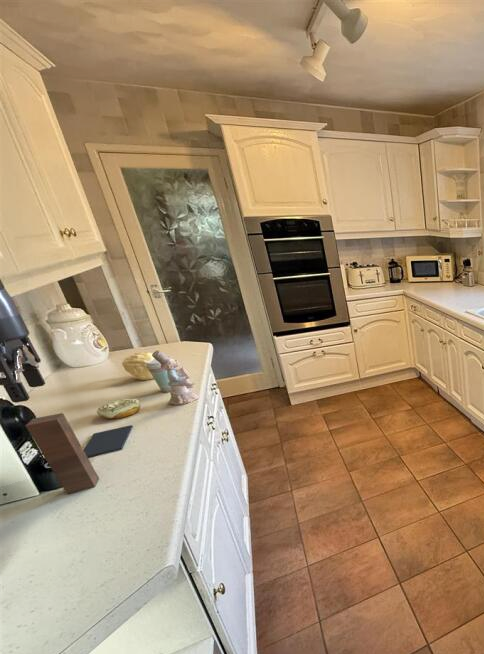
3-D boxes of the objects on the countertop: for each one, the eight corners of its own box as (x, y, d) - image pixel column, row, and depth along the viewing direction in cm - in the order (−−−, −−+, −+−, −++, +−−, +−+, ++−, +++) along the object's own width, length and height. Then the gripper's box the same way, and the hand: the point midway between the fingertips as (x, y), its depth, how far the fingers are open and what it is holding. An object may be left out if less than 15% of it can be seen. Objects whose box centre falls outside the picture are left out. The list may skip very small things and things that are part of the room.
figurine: (170, 408, 136) (147, 354, 127) (168, 401, 141) (146, 348, 133) (201, 400, 141) (181, 347, 133) (198, 393, 147) (179, 342, 139)
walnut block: (95, 486, 97) (57, 419, 89) (66, 494, 94) (25, 425, 87) (99, 478, 100) (62, 412, 92) (72, 485, 97) (32, 418, 90)
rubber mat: (122, 449, 112) (121, 447, 112) (78, 459, 108) (77, 458, 108) (133, 426, 125) (132, 424, 124) (94, 435, 120) (93, 433, 120)
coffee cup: (176, 383, 156) (164, 355, 151) (190, 386, 153) (178, 357, 148) (151, 392, 149) (138, 362, 144) (166, 395, 146) (153, 365, 141)
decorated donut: (110, 423, 127) (105, 413, 125) (94, 417, 131) (88, 407, 129) (148, 409, 135) (144, 399, 134) (131, 404, 139) (127, 394, 138)
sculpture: (124, 383, 158) (112, 358, 154) (149, 371, 169) (139, 348, 164) (152, 382, 158) (142, 357, 153) (176, 371, 169) (166, 347, 164)
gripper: (-23, 310, 77) (18, 385, 84) (-65, 326, 66) (-15, 411, 73) (32, 305, 81) (67, 378, 88) (1, 320, 70) (44, 401, 77)
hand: (30, 393), depth 80 cm, fingers open, 8 cm apart
